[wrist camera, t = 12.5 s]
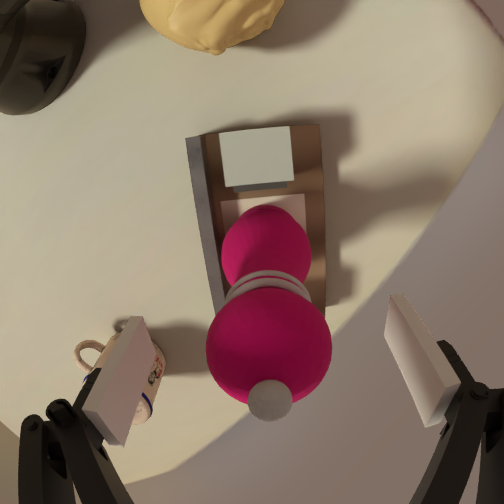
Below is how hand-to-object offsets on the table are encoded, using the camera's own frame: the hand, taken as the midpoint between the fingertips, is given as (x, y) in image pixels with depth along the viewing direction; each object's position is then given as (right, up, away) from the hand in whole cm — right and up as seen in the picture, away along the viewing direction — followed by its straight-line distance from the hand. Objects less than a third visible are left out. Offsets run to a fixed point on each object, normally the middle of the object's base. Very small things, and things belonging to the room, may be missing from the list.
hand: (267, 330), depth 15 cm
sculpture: (-4, +27, +7) cm, 28 cm away
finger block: (0, +12, +10) cm, 16 cm away
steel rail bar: (-4, +5, +14) cm, 15 cm away
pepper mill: (+1, +5, +14) cm, 15 cm away
